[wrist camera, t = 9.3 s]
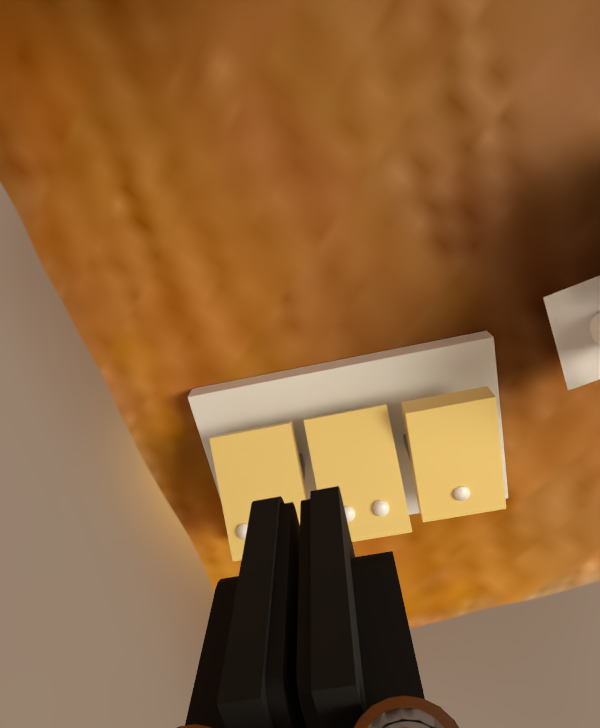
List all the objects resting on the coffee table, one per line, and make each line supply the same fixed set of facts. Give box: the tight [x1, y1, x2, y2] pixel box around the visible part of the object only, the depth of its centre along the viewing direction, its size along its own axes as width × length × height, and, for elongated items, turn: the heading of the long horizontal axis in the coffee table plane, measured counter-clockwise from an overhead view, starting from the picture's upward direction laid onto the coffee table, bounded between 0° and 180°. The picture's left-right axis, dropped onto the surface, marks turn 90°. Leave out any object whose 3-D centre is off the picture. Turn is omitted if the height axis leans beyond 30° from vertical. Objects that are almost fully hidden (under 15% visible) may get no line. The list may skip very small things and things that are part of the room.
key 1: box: [401, 386, 506, 522], centre depth 36 cm, size 9×6×2 cm, turn 12°
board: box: [188, 331, 508, 515], centre depth 40 cm, size 14×23×4 cm, turn 102°
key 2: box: [304, 404, 412, 542], centre depth 37 cm, size 9×6×2 cm, turn 12°
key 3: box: [209, 421, 308, 561], centre depth 38 cm, size 9×6×2 cm, turn 12°
